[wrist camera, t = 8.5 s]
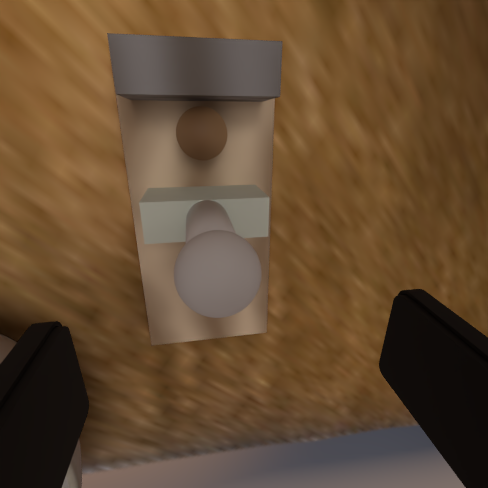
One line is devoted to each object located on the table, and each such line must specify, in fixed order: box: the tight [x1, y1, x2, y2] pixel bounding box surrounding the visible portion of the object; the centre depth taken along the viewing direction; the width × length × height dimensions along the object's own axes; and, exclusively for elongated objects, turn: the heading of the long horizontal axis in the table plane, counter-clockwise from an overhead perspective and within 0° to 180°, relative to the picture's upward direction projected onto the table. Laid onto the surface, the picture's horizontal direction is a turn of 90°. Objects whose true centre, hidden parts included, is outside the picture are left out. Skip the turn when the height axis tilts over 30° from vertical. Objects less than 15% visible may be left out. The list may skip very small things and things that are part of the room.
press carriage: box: [139, 185, 269, 318], centre depth 19 cm, size 9×4×15 cm, turn 90°
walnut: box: [176, 106, 227, 161], centre depth 23 cm, size 4×4×3 cm
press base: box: [107, 33, 282, 345], centre depth 25 cm, size 12×26×7 cm, turn 0°
